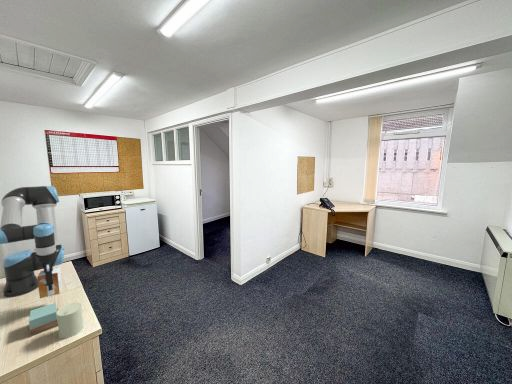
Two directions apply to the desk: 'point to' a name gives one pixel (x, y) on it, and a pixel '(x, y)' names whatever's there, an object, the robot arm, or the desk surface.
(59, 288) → the small box
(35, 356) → the desk surface
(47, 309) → the top slab
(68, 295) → the desk surface
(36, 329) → the bottom slab
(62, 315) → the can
